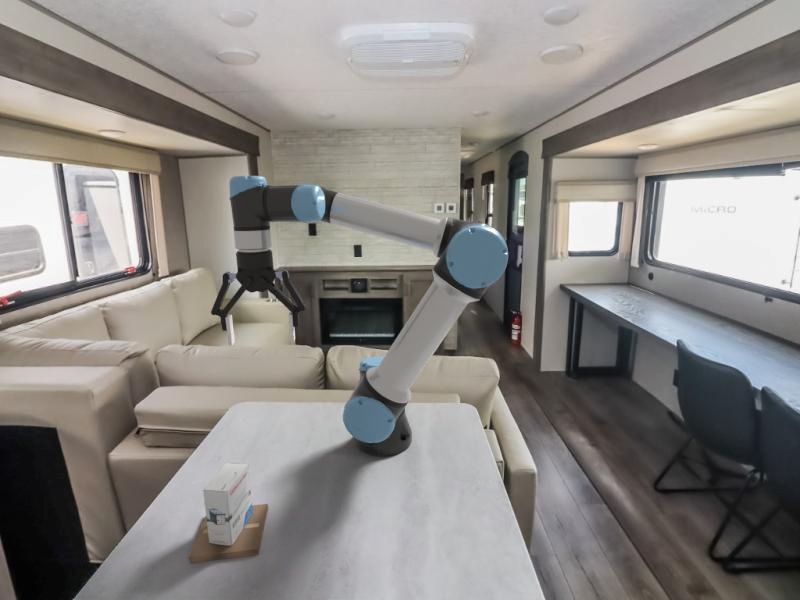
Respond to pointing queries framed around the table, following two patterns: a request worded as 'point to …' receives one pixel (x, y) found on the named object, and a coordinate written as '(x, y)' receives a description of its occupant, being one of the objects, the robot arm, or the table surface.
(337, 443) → the table surface
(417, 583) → the table surface
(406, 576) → the table surface
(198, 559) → the cardboard box
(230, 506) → the ink box
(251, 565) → the table surface
